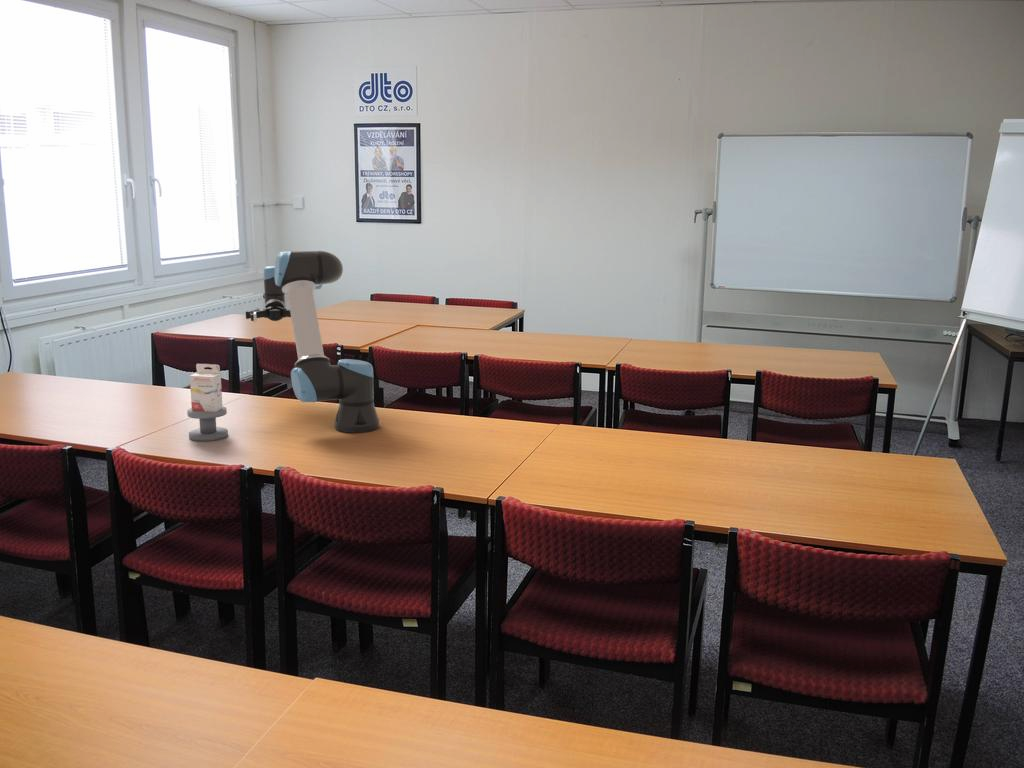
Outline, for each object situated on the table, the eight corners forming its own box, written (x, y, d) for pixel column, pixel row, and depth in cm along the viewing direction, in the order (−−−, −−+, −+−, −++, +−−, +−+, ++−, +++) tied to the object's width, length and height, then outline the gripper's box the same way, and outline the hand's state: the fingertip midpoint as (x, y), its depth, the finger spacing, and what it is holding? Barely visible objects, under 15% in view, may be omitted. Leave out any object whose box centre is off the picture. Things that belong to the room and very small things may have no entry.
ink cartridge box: (191, 410, 268) (188, 366, 265) (198, 407, 273) (195, 363, 270) (216, 412, 267) (213, 367, 264) (223, 408, 272) (220, 364, 269)
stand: (235, 434, 275) (234, 407, 273) (209, 443, 264) (207, 416, 262) (208, 429, 280) (206, 403, 278) (180, 438, 269) (178, 411, 267)
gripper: (309, 319, 319) (311, 327, 299) (241, 320, 313) (238, 328, 293) (308, 299, 318) (310, 306, 298) (239, 300, 311) (237, 307, 291)
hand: (274, 317), depth 295 cm, fingers open, 13 cm apart
